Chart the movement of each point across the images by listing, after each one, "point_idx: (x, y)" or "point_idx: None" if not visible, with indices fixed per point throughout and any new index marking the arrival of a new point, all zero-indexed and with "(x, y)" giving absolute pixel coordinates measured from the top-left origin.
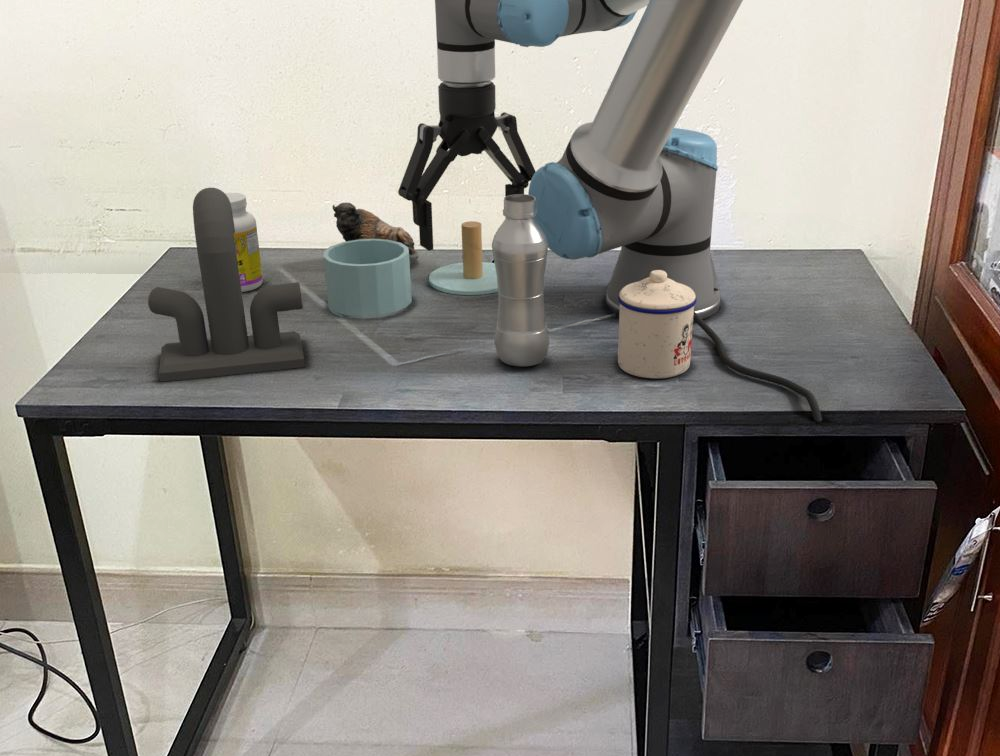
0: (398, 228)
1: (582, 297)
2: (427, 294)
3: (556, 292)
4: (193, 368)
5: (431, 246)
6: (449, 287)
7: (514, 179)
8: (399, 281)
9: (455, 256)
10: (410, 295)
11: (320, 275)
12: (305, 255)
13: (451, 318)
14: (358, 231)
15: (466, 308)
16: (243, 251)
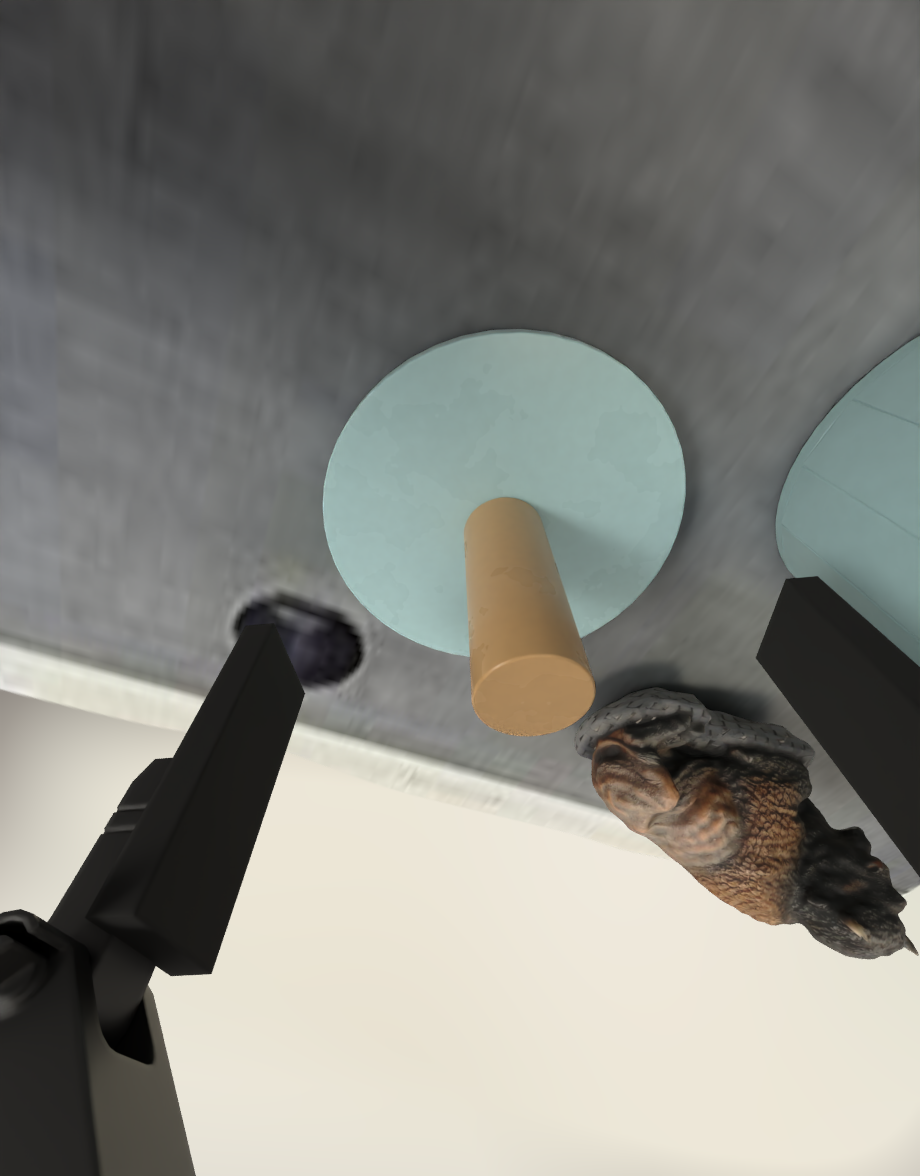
0: (649, 827)
1: (5, 49)
2: (703, 488)
3: (170, 240)
4: None
5: (809, 590)
6: (658, 447)
7: (77, 1040)
8: None
9: (446, 727)
10: (889, 397)
11: None
12: None
13: (849, 87)
14: (804, 831)
15: (683, 227)
16: None
